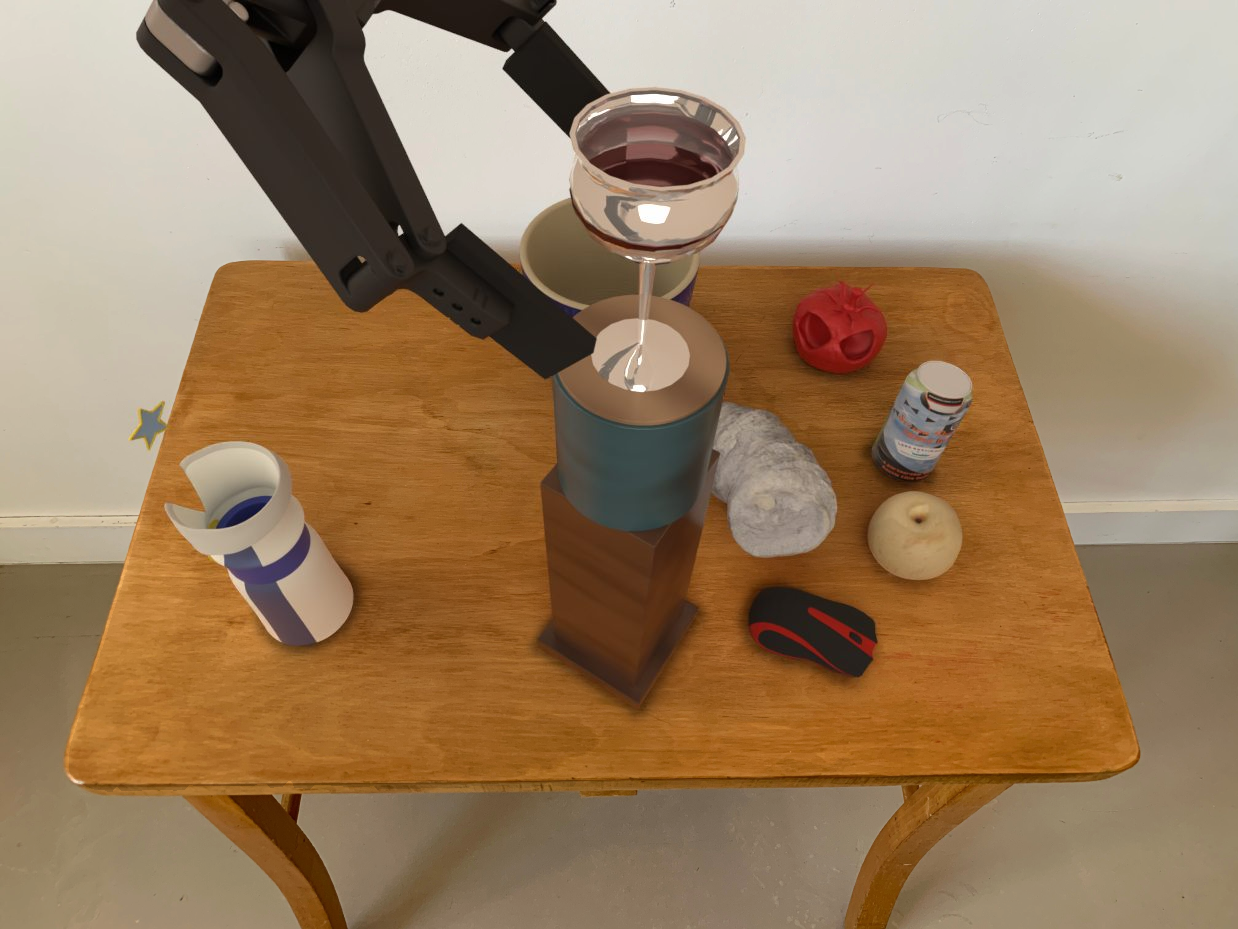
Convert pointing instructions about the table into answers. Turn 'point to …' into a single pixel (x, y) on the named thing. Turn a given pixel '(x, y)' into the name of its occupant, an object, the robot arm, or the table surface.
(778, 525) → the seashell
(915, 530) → the apple
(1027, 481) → the table surface
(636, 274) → the planter
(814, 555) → the table surface
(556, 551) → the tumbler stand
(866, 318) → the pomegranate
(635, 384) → the wineglass
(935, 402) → the beverage can
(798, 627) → the computer mouse
